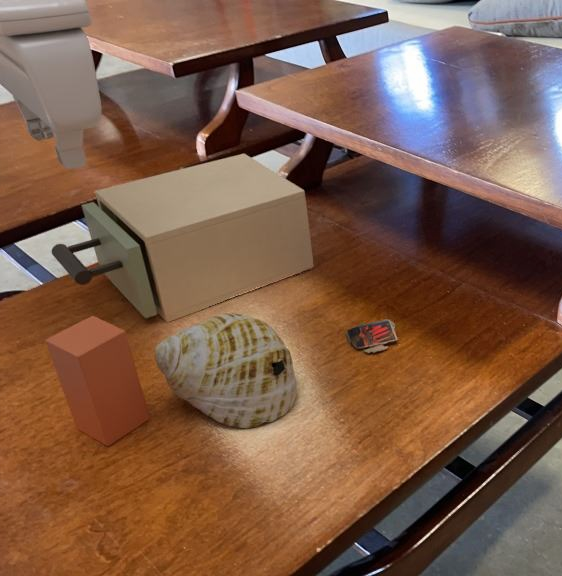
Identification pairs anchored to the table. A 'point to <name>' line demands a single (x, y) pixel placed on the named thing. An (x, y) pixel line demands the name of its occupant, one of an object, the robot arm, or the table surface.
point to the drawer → (113, 259)
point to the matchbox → (372, 335)
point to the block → (99, 379)
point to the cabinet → (214, 230)
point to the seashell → (230, 370)
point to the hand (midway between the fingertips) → (57, 151)
